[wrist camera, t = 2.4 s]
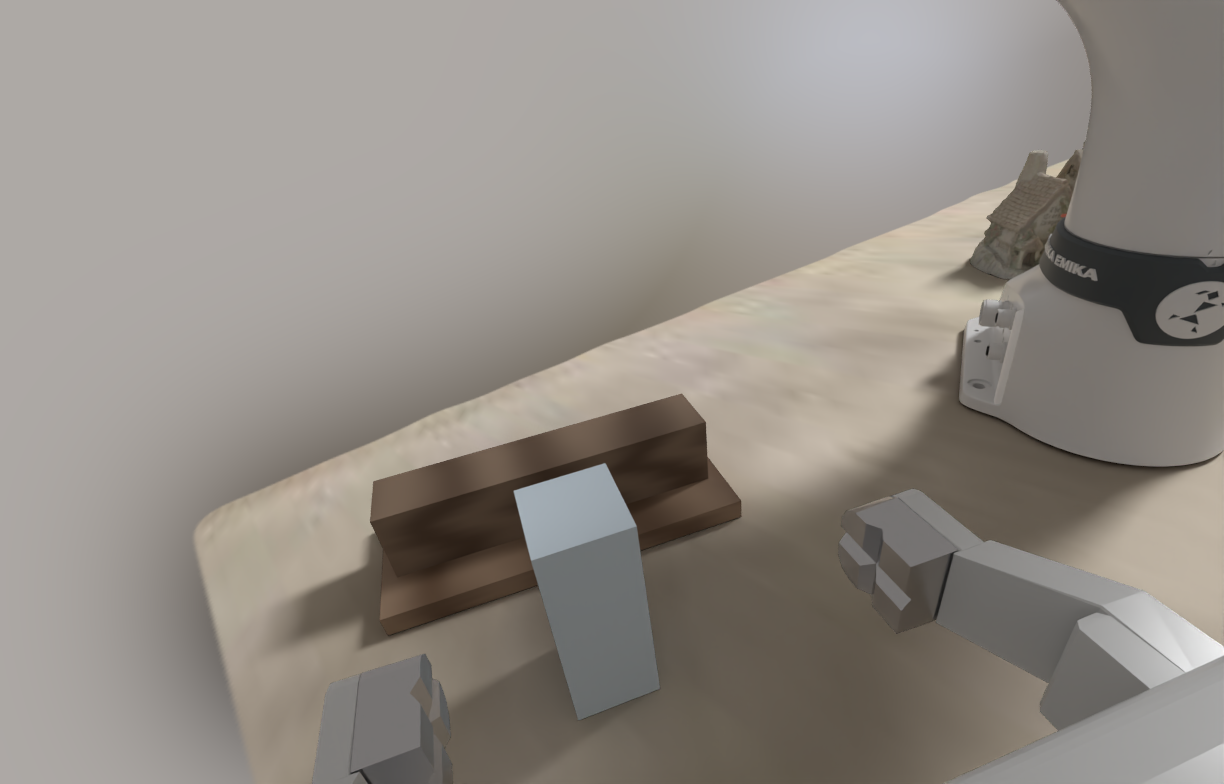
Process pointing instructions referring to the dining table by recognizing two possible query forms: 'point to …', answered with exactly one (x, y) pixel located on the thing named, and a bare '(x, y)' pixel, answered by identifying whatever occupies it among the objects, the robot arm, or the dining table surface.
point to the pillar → (591, 586)
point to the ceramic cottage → (1026, 218)
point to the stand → (489, 518)
